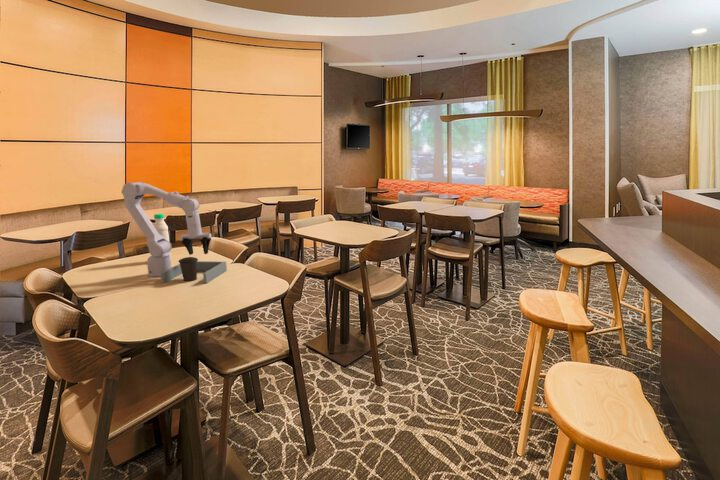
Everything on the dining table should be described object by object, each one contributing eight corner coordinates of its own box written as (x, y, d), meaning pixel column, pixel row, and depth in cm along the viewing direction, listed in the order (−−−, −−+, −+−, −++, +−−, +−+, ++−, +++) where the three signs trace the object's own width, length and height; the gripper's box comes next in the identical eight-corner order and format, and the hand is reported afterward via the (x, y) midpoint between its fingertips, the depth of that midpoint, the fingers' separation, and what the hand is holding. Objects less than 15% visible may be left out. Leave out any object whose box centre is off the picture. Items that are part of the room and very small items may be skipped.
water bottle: (160, 259, 218) (154, 213, 213) (173, 258, 219) (168, 212, 213) (154, 262, 211) (148, 215, 206) (168, 262, 212) (163, 214, 207)
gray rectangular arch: (162, 282, 176) (161, 272, 176) (186, 269, 196) (185, 261, 195) (206, 283, 174) (205, 273, 173) (226, 270, 194) (226, 261, 193)
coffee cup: (204, 278, 182) (202, 256, 180) (189, 283, 175) (187, 261, 173) (190, 276, 185) (188, 255, 183) (176, 281, 178) (173, 259, 176)
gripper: (213, 222, 187) (217, 251, 189) (184, 224, 189) (189, 252, 192) (204, 225, 180) (209, 254, 183) (175, 227, 183) (180, 256, 185)
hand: (198, 253), depth 187 cm, fingers open, 7 cm apart
